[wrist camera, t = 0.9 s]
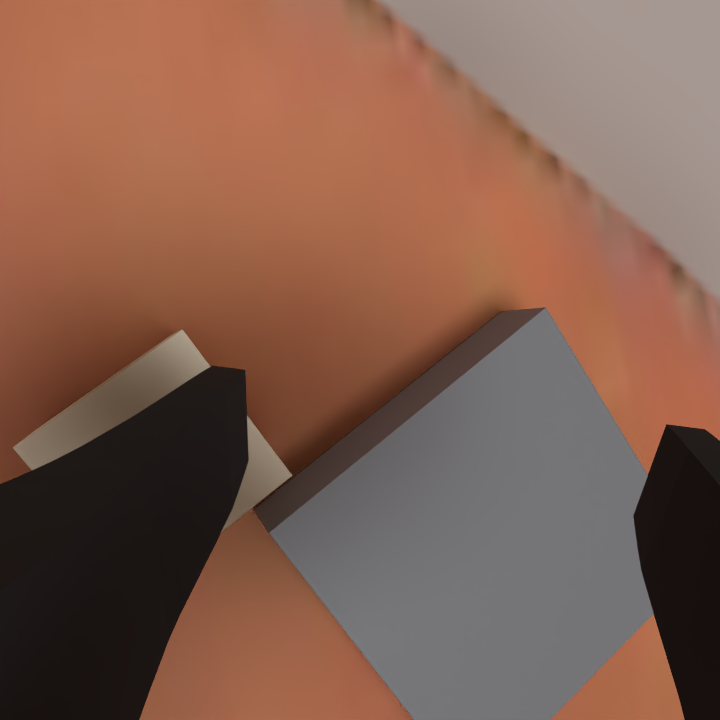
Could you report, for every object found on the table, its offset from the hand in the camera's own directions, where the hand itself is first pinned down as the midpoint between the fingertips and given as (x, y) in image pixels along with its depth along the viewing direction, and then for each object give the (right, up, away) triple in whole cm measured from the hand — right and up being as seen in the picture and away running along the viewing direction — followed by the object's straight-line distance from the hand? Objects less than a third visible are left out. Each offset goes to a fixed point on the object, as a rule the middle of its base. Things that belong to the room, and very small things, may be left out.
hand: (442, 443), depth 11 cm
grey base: (+3, -5, +14) cm, 15 cm away
